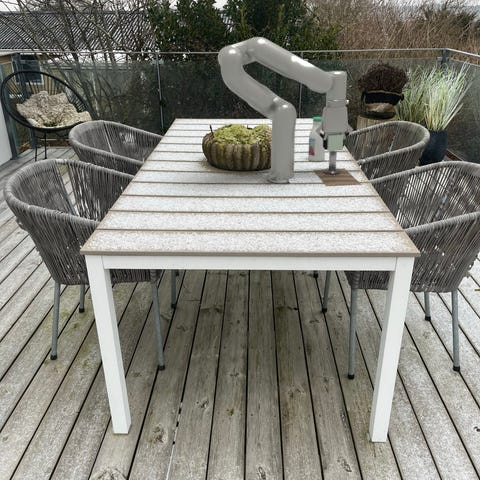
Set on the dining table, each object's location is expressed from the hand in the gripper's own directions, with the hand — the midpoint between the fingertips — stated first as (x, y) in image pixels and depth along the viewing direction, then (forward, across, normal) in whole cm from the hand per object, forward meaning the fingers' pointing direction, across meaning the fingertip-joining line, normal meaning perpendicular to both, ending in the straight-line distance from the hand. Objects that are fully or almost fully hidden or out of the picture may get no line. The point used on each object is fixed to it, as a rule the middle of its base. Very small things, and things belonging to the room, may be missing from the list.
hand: (333, 148), depth 194 cm
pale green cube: (0, 0, 0) cm, 0 cm away
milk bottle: (+12, 0, -28) cm, 31 cm away
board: (+12, 0, +6) cm, 14 cm away
